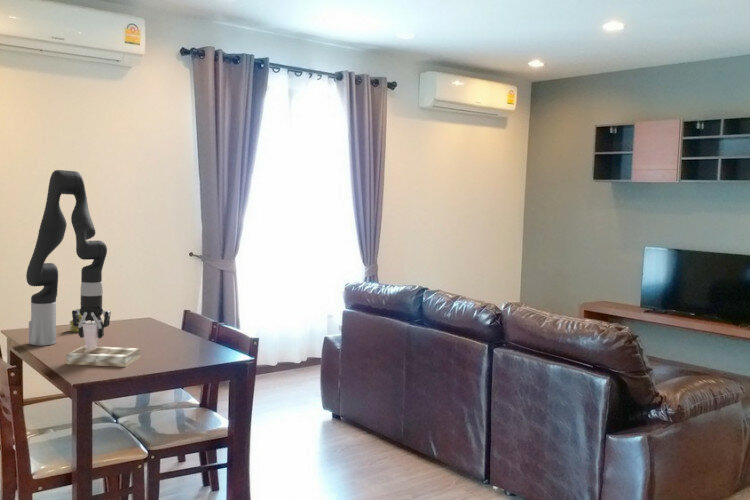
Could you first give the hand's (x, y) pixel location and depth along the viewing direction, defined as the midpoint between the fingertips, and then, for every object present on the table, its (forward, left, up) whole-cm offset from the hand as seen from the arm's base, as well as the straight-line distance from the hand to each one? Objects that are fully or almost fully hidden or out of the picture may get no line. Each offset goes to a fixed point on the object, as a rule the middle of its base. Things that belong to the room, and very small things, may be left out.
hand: (91, 337), depth 253 cm
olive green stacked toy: (-28, +50, -9) cm, 58 cm away
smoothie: (0, 0, -4) cm, 4 cm away
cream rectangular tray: (+5, 0, -9) cm, 10 cm away
